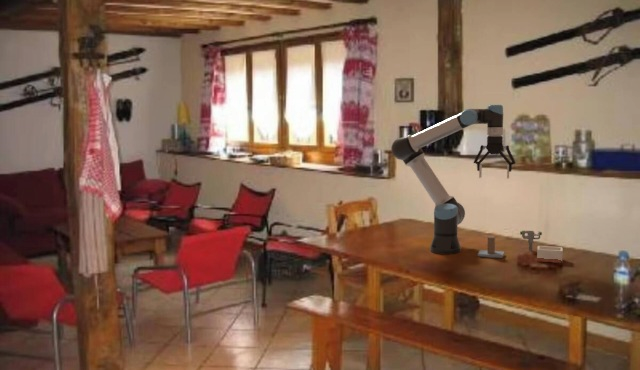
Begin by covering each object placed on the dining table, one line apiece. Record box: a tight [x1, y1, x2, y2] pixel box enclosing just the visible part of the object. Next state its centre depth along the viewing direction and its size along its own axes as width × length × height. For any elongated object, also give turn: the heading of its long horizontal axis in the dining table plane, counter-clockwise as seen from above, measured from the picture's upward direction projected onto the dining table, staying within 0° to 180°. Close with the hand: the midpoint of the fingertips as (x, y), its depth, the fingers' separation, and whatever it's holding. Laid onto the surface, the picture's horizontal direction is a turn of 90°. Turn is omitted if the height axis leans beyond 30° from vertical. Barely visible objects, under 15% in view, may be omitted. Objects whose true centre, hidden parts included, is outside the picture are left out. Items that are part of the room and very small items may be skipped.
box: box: [536, 245, 564, 262], centre depth 302 cm, size 11×8×6 cm
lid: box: [477, 235, 505, 259], centre depth 313 cm, size 12×9×10 cm
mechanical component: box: [519, 230, 543, 252], centre depth 323 cm, size 3×10×10 cm, turn 78°
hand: (494, 177), depth 324 cm, fingers open, 13 cm apart
